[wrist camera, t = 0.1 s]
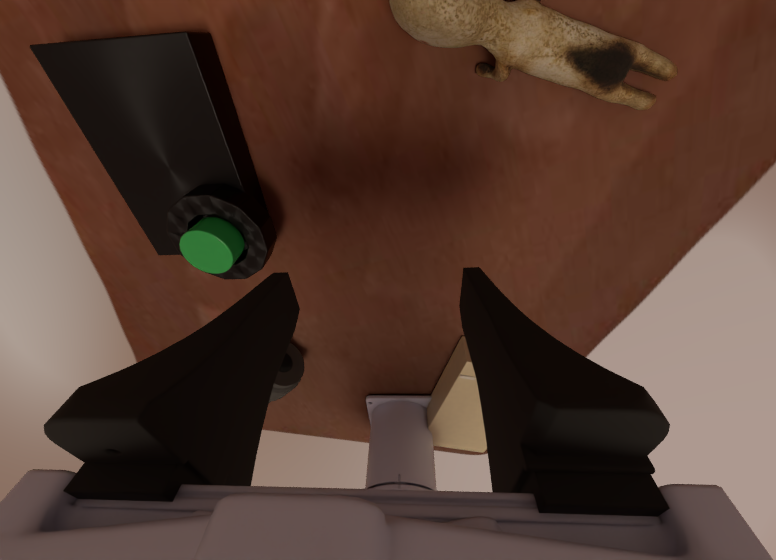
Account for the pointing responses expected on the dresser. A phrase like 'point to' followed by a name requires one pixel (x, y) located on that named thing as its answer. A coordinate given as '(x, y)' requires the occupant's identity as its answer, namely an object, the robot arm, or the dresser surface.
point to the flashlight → (288, 373)
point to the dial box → (457, 405)
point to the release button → (212, 245)
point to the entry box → (165, 135)
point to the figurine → (536, 45)
